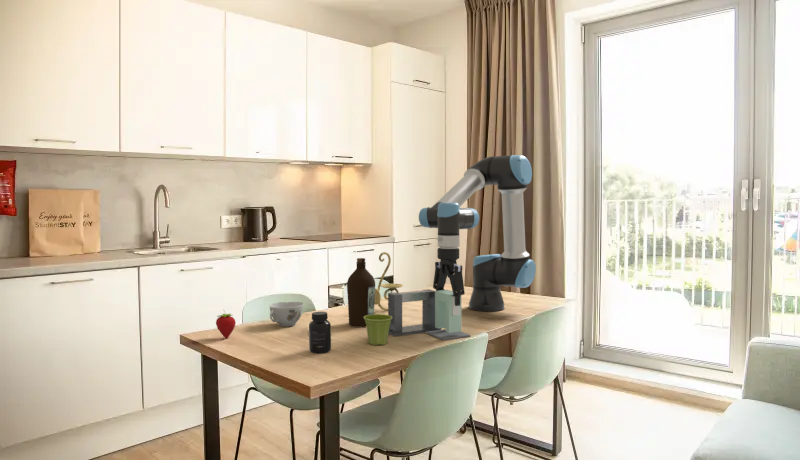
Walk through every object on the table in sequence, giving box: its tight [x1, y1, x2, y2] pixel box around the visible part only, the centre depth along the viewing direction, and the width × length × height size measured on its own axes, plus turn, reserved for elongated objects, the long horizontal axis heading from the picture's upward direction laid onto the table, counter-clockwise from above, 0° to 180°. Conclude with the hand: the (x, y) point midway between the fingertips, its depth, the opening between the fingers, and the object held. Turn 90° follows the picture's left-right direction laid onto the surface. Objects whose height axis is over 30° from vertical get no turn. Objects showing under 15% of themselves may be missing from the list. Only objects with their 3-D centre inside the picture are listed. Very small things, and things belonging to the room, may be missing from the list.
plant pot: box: [364, 313, 392, 346], centre depth 184 cm, size 9×9×9 cm
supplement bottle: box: [308, 311, 332, 355], centre depth 175 cm, size 7×7×12 cm
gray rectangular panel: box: [425, 328, 471, 341], centre depth 195 cm, size 11×11×1 cm
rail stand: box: [387, 289, 442, 337], centre depth 200 cm, size 19×8×14 cm, turn 118°
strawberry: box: [215, 310, 236, 339], centre depth 191 cm, size 6×8×10 cm
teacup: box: [269, 301, 304, 328], centre depth 209 cm, size 15×12×8 cm
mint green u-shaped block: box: [434, 289, 462, 333], centre depth 194 cm, size 5×9×13 cm, turn 28°
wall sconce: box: [374, 251, 404, 312], centre depth 236 cm, size 14×10×25 cm
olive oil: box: [346, 257, 376, 328], centre depth 210 cm, size 11×11×25 cm
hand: (448, 312), depth 194 cm, fingers closed on mint green u-shaped block, 9 cm apart
